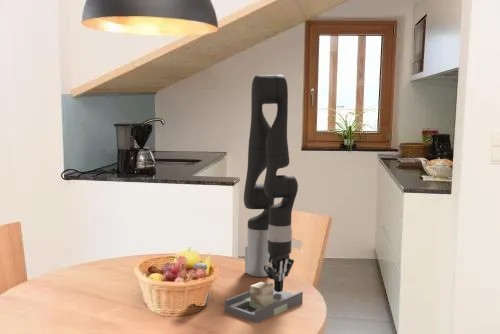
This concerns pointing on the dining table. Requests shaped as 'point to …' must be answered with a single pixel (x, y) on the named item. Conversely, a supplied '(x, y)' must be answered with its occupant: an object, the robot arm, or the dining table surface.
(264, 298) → the maple block
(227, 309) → the trap lane
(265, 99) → the robot arm
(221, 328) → the dining table surface
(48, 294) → the dining table surface
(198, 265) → the salt shaker
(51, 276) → the dining table surface
